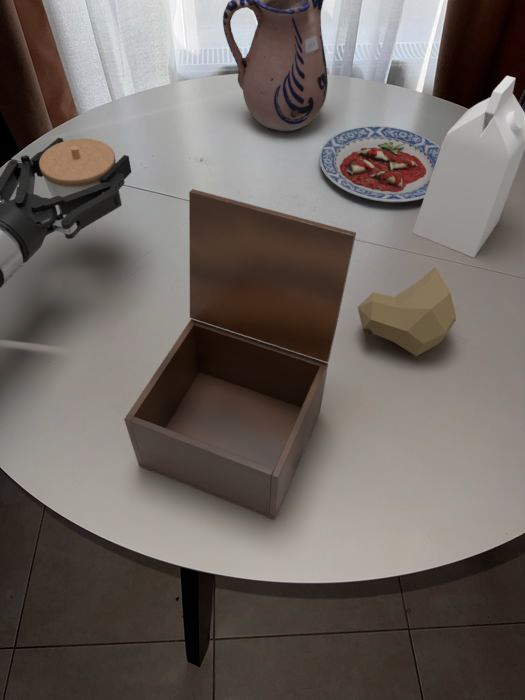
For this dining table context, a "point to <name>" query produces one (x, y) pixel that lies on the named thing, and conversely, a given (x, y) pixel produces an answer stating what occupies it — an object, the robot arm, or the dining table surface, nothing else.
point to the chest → (228, 416)
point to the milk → (474, 173)
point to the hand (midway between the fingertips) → (94, 154)
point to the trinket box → (75, 165)
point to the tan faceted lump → (411, 314)
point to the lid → (267, 273)
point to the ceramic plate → (380, 163)
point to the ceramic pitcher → (282, 61)
